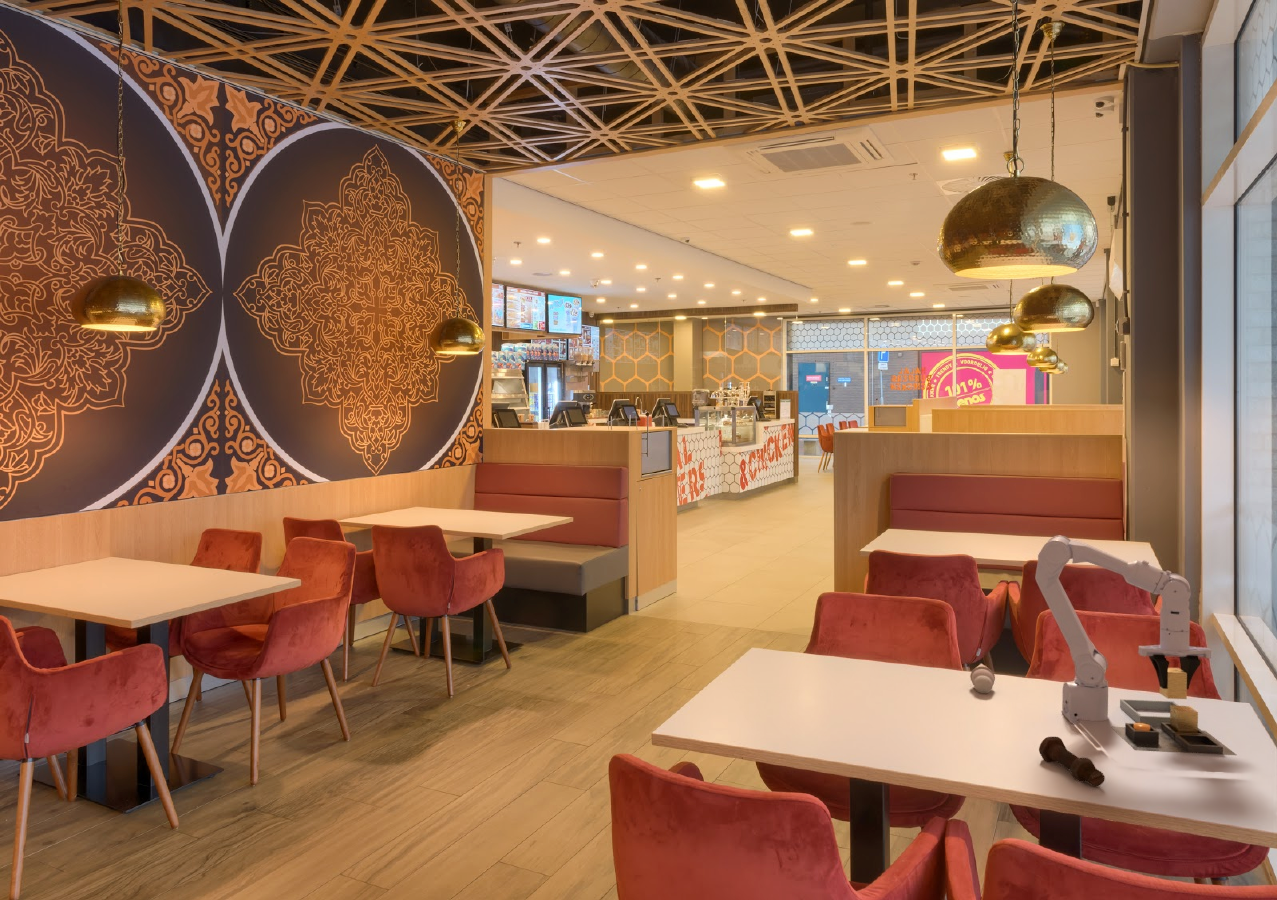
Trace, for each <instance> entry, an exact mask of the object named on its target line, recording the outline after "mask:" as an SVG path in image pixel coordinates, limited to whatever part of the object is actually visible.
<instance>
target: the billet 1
mask: <svg viewBox="0 0 1277 900" xmlns="http://www.w3.org/2000/svg"><path fill="white" fill-rule="evenodd" d="M1187 690H1188V689H1187V673H1186V672H1185V671H1183V670H1181V668H1180V667H1168V672H1167V689H1163V688H1162V687H1160V686H1159V694H1160V695H1161V696H1163V697H1165V698H1166V699H1173V700H1187V694H1188V692H1187Z"/></svg>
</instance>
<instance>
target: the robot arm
mask: <svg viewBox="0 0 1277 900" xmlns="http://www.w3.org/2000/svg"><path fill="white" fill-rule="evenodd" d="M1071 559H1072V560H1071ZM1070 560H1071V561H1072V562H1071V563H1072V564H1080V563H1090V564H1092V565H1094V566H1098V567H1100V568H1102V569H1105V570H1108V571H1111V572H1114V573H1116V574H1119V575H1122V577H1123V578H1124V580H1125V582H1126V583H1127V584H1130V585H1132V586H1134V587H1136V588H1138V589H1142V590H1143V591H1146V592H1148V593H1151V594H1153V595H1160V596H1161V607H1160V610H1159V611H1160V612H1159V613H1160V614H1159V615H1160V619H1159V623H1160V626H1159V628H1160V629H1159V644H1154V645H1138V655H1139V656H1141V657H1146V658H1147V657H1149V660H1150V662H1151V664H1152V666H1153V668H1154V671H1155V673H1156V676H1157V680H1158V685H1159V688H1160V687H1162V688H1163V689H1167V672H1168V668H1169V666H1170V661H1169V660H1167V657H1173V658H1174V657H1179V663H1180V669H1181V670H1183V671H1185V672H1186V673H1187V690H1189V688H1190V684H1191V682H1192V679H1193V677H1194V675H1195V672H1196V671H1197V669H1198V668H1199V667H1200V666H1201V663H1202V662H1201V659H1199V658H1205V659H1211V658H1212V649H1210V648H1208V647H1201V646H1190V633H1191V632H1190V627H1191V624H1190V623H1191V616H1190V615H1191V609H1189V608H1190V598H1191V596H1192V592H1191V585H1190V583H1189V581H1188V580H1187V579H1186V578H1185V577H1183V576H1182V575H1180V574H1179V573H1172V571H1170V570H1166V571H1165V570H1162V569H1161V568H1159V567H1158V568H1157V567H1155V566H1152V565H1150V564H1149V563H1150V562H1149V561H1147V560H1146V559H1143V560H1142V561H1140V560H1137V559H1136V560H1133V561H1129V562H1128V561H1125V560H1124V559H1121V558H1119V557H1118V556H1114V555H1112V554H1110V553H1108V552H1105V551H1103V550H1101V549H1099V548H1096V547H1094V546H1092V545H1090V544H1087V543H1085V542H1082V541H1080V540H1077V539H1073V538H1072V539H1070V538H1068V537H1067V536H1065V535H1055V536H1053V537H1051V538H1050V539H1049V540H1047V542H1046V543H1044V545H1043V546H1042V548H1041V549H1040V551H1039V552H1038V554H1037V565H1036V570H1035V582H1036V584H1037V586H1038V588H1039V590H1040V592H1041V594H1042V596H1043V598H1044V600H1045V602H1046V604H1047V606H1048V608H1049V611H1051V614H1052V616H1053V618H1054V620H1055V621H1056V624H1057V625H1058V629H1059V630H1060V632H1061V634H1062V636H1063V638H1064V640H1065V642H1066V644H1067V646H1068V648H1069V651H1070V657H1071V659H1072V660H1071V661H1073V664H1074V674H1075V676H1074V679H1073V680H1072V681H1066V682H1063V685H1062V703H1061V704H1062V710H1061V711H1060V712H1061V714H1062V715H1063V716H1064V717H1065V718H1066V720H1067V721H1068V722H1070V724H1074V725H1075V724H1076V723H1081V722H1080V721H1079V720H1084V721H1091V722H1103V721H1107V720H1108V719H1109V681H1108V680H1107V679H1106V671H1107V670H1108V664H1109V663H1108V660H1107V658H1106V657H1105V656H1104V655H1103V654H1102V653H1101V652H1099V650H1097V648H1096V646H1095V644H1094V643H1093V642H1092V640H1091V639H1090V638H1089V636H1088V634H1087V632H1086V630H1085V628H1084V627H1083V625H1082V623H1081V620H1080V618H1079V616H1078V615H1077V612H1076V610H1075V608H1074V606H1073V604H1072V602H1071V600H1070V599H1069V598H1070V597H1068V595H1067V593H1066V592H1067V591H1065V589H1064V587H1063V585H1062V583H1061V580H1060V579H1059V578H1060V575H1061V573H1062V571H1063V569H1064V567H1065V566H1066V565H1067V564H1068V563H1069V561H1070ZM1075 714H1076V715H1075Z"/></svg>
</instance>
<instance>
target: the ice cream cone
mask: <svg viewBox="0 0 1277 900" xmlns="http://www.w3.org/2000/svg"><path fill="white" fill-rule="evenodd" d="M969 675H970V676H969V677H970V678H969V679H970V681H971V683H972V685H973V687H974V689H975V690H976V691H977V692H978V693H980V694H982V695H983V694H988V693H990V692H991V691H992V690H993V686H994V684H995V682H996V681H995V680H996V676H995V674H994V672H993V670H992V669H990V668H989V667H987V665H984V664H983V663H979V665H978V666H976V667H975V668H973V669H972V670H971V672H970V674H969Z"/></svg>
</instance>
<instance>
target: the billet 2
mask: <svg viewBox="0 0 1277 900" xmlns="http://www.w3.org/2000/svg"><path fill="white" fill-rule="evenodd" d="M1169 712H1170V713H1169V715H1170V716H1169V717H1170V728H1171V729H1172V730H1173V731H1175V732H1177V733H1198V728H1199V725H1198V724H1199V723H1198V722H1199V711H1198V710H1195V709H1194V708H1193V707H1192V706H1190V705H1179V706H1174V705H1170V710H1169Z"/></svg>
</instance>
